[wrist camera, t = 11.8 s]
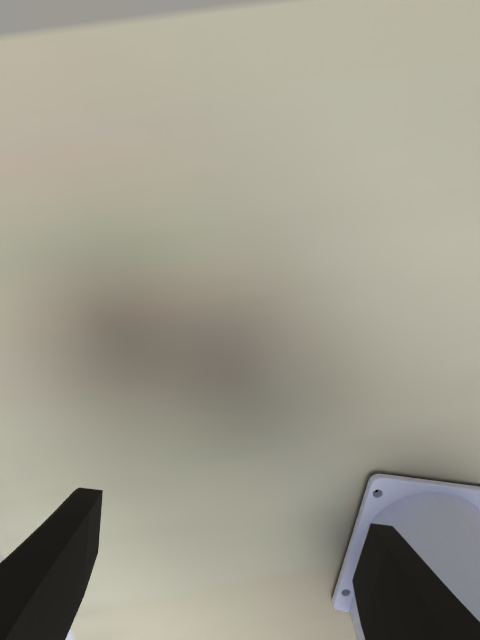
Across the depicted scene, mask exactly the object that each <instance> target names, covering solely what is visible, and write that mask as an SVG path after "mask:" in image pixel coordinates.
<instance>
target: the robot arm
mask: <svg viewBox="0 0 480 640" xmlns="http://www.w3.org/2000/svg"><path fill="white" fill-rule="evenodd" d="M375 490H379V491H378V492H375V493H373V492H374V491H375ZM102 493H103V490H94V489H86V488H78V489H76V490H75V491H74V492H73V493H72V494H71V495H70V496H69V497H68V498H67V499H66V500H65V501H64V502H63V503H62V504H61V505H60V506H59V507H58V509H57V510H56V511H55V512H54V513H53V514H52V515H51V516H50V517H49V518H48V519H47V520H46V521H45V522H44V523H43V524H42V525H41V526H40V527H39V528H38V529H37V530H35V531H34V532H33V533H32V534H31V535H30V536H29V537H28V538H27V539H26V540H25V541H24V542H23V543H22V544H21V545H20V546H19V547H17V548H16V549H15V550H14V551H13V552H12V553H11V554H10V555H9V556H8V557H7V558H5V559H4V560H3V561H2V562H1V563H0V640H65V639H66V637H67V634H68V632H69V630H70V627H71V625H72V623H73V620H74V618H75V616H76V613H77V611H78V609H79V606H80V604H81V601H82V599H83V597H84V594H85V591H86V588H87V585H88V582H89V579H90V576H91V573H92V569H93V566H94V563H95V560H96V557H97V554H98V546H99V532H100V519H101V506H102ZM345 589H346V590H345ZM332 603H333V607H334V609H336V610H338V611H343V612H350V615H351V618H352V622H353V625H354V629H355V633H356V636H357V640H480V487H479V486H471V485H464V484H456V483H448V482H441V481H433V480H425V479H418V478H410V477H402V476H394V475H387V474H375V475H373V476H371V477H370V479H369V481H368V484H367V488H366V491H365V494H364V497H363V501H362V504H361V507H360V510H359V514H358V517H357V520H356V523H355V527H354V530H353V533H352V536H351V540H350V543H349V546H348V549H347V553H346V556H345V559H344V562H343V566H342V569H341V572H340V575H339V579H338V582H337V585H336V588H335V591H334V595H333V598H332Z"/></svg>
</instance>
